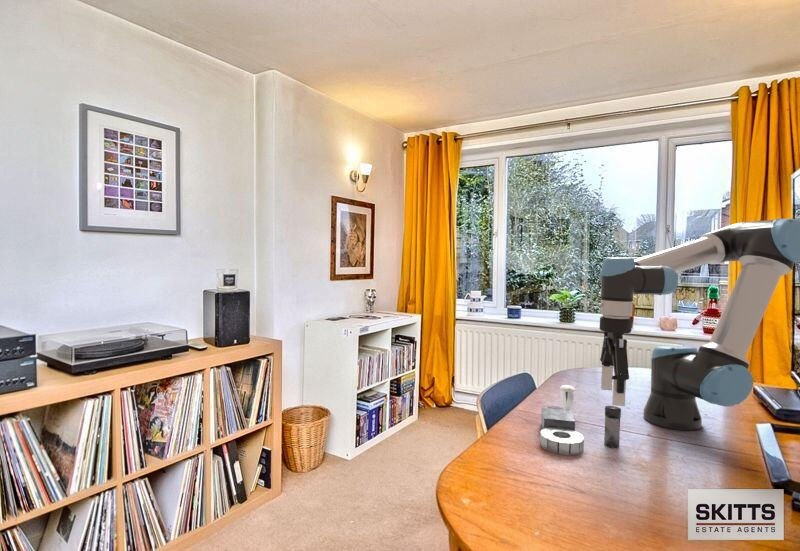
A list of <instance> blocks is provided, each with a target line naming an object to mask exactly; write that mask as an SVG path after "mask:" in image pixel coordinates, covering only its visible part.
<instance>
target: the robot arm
mask: <svg viewBox="0 0 800 551" xmlns="http://www.w3.org/2000/svg"><path fill="white" fill-rule="evenodd" d="M725 262H739V263H740V264H741V265H742V268H741V269H740V272H739V274H738V276H737V278H736V281H735V283H734V285H733V288H732V290H731V292H730V294H729V297H728V299H727V301H726V303H725V305H724V308H723V310H722V312H721V315H720V317H719V319H718V321H717V324H716V326H715V328H714V331H713V332H712V335H711V337H710V339H709V341H708V343H706V344H702V345H700V346H699V348H698V349H697V348H696V347H693V346H683V345H681V346H680V345H659V346H655V347H654V348H653V349H652V354H651V355H652V356H651V358H650V360H651V365H650V366H651V368H650V369H651V372H650V376H651V377H650V378H651V380H650V394H649V396H648V399H647V401H646V403H645V405H644V408H643V418H644V419H645V421H646V422H649V423H651V424H654V425H656V426H658V427H659V426H660V427H663V428H667V429H671V430H677V431H678V430H680V431H696V430H700V429H701V428H702V426H703V425H702V424H703V423H702V422H703V421H702V416H701V413H700V409H699V407H698V403H697V400H696V398H698V399H701V400H702V401H705V402H707V403H709V404H712V405H718V406H720V407H728V408H729V407H734V406H735V405H739V404H742V403H743V402H744V401H746V399H747V398H748V397H750V396H749V395H750V394H751V393H752V390H753V387H754V381H753V375H752V373H751V371H750V370H749V367H750V362H749V361H748V360H749V359H748V358H747V354H748V353H749V352H748V351H749V349H750V347H751V345H752V342H753V339H754V338H755V336H756V334H757V331H758V328H759V326H760V324H761V322H762V320H763V318H764V315H765V313H766V311H767V308H768V307H769V304H770V301H771V299H772V298H773V295H774V293H775V290H776V289H777V285H778V283H779V281H780V279H781V277H783V276H786V275H788V274H790V273H791V272H792V270H793V267H794V265H795V263H796V264H798V263H800V220H799V219H796V218H776V219H767V220H756V221H755V220H754V221H742V222H737V223H734V224H730V225H726V226H725V227H722V228H721V227H720V228H719V229H716V230H713V231H711V232H706V233H704V234H702V235H700V236H699V237H698V239H695V240H693V241H690V242H687V243H682V244H680V245H677V246H675V247H672V248H668V249H665V250H661V251H658V252H656V253H653V254H649V255H646V256H643V257H639V258H636V259H634V258H632V257H606V258H605V259H603V262H602V266H601V270H600V272H599V276H598V279H599V283H600V285H601V287H600V288H601V289H600V293H601V294H600V303H598V304H597V306H598V307H600V313H599V314H600V315H601V316H600V317H599V330H600V331H602V332H603V341H602V347H601V353H600V358H599V360H600V362H601V365H602V366H601V376H600V378H601V379H600V389H601V390H602V391H612V398H611V399H612V402H611V406H616V407H626V389H627V388H626V387H627V380H629V379H630V373H629V362H628V361H629V359H628V350H627V348H628V344H627V343H628V340H627V339H626V338H624V337H623V335H624V334H626V335H627V334H630V333H631V332H632V329H633V328H632V327H633V326H632V324H633V320H632V316H633V313H634V312H633V310H634V309H633V308H634V295H651V296H652V295H656V296H663V295H665V296H666V295H670V294H672V293H674V292H675V291H676V290H677V287H678V285H679V276H678V273H679V274H680V273H682V272H684V271H688V270H691V269H694V268H697V267H700V266H703V265H707V264H709V265H717V264H720V263H725ZM630 317H631V318H630ZM613 373H614V374H613Z"/></svg>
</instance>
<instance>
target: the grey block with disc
mask: <svg viewBox="0 0 800 551" xmlns="http://www.w3.org/2000/svg"><path fill="white" fill-rule="evenodd" d="M540 423H541V428H542V429H541V430H540V435H539V436H540V437H539V439H540V440H539V442H540V447H542V448H543V449H544V450H546V451H548V452H551V453H554V454H557V455H562V456H563V455H565V456H573V455H579V454H581V453H583V452H584V450H585V438H584V436H583V434H582V433H580V432H578V431H576V419H575V418H574V416H573V414H572V413H571V410H564V409H563V408H561V407H556V406H547V407H541V422H540Z"/></svg>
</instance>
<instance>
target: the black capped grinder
mask: <svg viewBox="0 0 800 551" xmlns="http://www.w3.org/2000/svg"><path fill="white" fill-rule="evenodd" d="M621 415H622V408H621V407H620V406H617V405H605V406H604V434H603V435H604V440H603V445H604V447H607V448H610V449H619V448H620V435H621V433H620V432H621V417H622V416H621Z"/></svg>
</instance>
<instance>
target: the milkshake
mask: <svg viewBox="0 0 800 551" xmlns="http://www.w3.org/2000/svg"><path fill="white" fill-rule="evenodd" d="M578 385H579V384H578V383H577V384H576V387H574V386H572V385H569V384H563V385H561V386H560V387H559V392H560V393H559V394H560V408H563V409H564V410H571V413H572V415H573V413H574V404H575V396H576V395H575V394H576V389H577V387H578Z"/></svg>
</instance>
